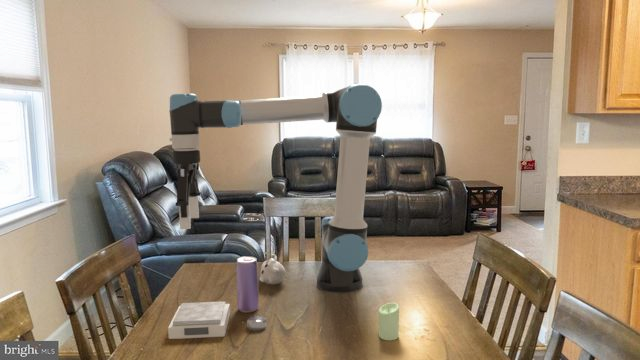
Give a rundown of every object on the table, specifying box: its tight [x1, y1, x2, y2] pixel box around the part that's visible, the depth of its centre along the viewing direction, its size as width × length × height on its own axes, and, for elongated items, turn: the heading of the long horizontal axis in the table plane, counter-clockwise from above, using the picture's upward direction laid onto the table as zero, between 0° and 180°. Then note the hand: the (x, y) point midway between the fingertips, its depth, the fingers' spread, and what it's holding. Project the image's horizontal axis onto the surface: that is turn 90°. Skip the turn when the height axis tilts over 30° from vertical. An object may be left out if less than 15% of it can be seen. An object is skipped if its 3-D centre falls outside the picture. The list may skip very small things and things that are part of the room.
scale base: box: [167, 303, 231, 340], centre depth 129 cm, size 14×14×3 cm
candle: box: [378, 302, 400, 341], centre depth 122 cm, size 5×5×8 cm
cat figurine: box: [258, 253, 287, 285], centre depth 162 cm, size 10×8×15 cm
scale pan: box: [173, 301, 227, 325], centre depth 129 cm, size 12×12×1 cm
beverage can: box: [236, 256, 260, 313], centre depth 139 cm, size 6×6×15 cm
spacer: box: [246, 315, 267, 332], centre depth 129 cm, size 5×5×2 cm
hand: (190, 223), depth 139 cm, fingers open, 13 cm apart
